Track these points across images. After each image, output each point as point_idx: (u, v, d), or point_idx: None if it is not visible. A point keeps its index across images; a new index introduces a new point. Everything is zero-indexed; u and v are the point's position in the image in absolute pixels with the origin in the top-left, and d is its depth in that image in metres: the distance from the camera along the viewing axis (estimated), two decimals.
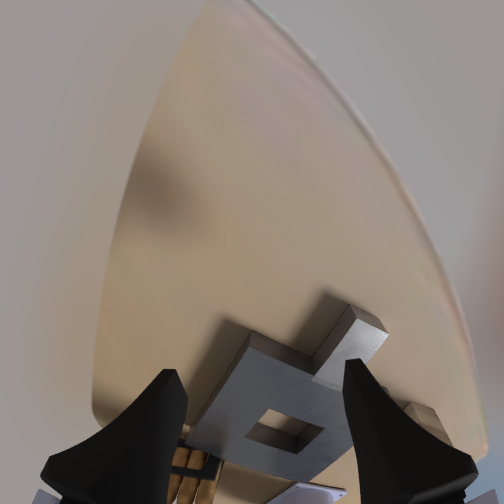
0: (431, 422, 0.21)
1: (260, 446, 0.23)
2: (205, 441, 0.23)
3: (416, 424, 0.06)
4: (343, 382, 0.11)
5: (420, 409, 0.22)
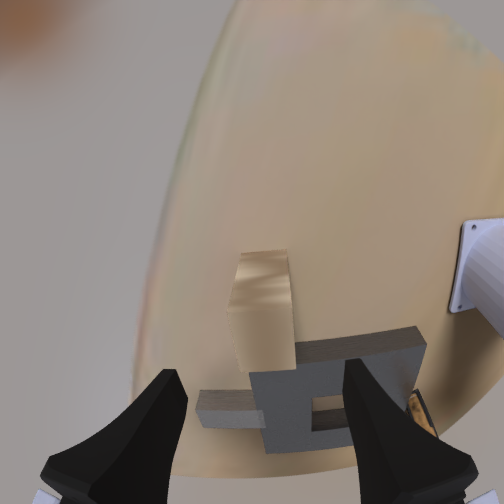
0: None
1: None
2: None
3: (416, 424, 0.06)
4: (343, 382, 0.11)
5: None
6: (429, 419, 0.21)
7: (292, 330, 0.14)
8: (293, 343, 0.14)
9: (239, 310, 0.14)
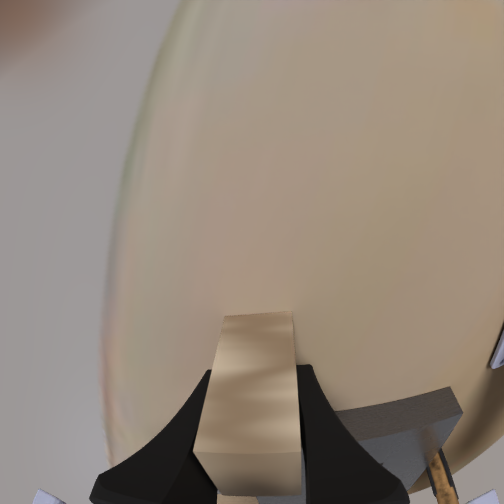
0: None
1: None
2: None
3: (351, 438, 0.07)
4: None
5: None
6: (450, 478, 0.14)
7: (299, 469, 0.07)
8: (299, 478, 0.07)
9: (212, 449, 0.07)
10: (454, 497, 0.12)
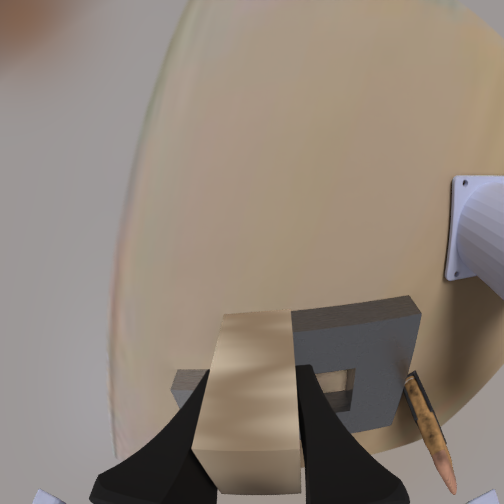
0: None
1: (357, 396, 0.21)
2: (377, 420, 0.23)
3: (351, 438, 0.07)
4: None
5: None
6: (429, 403, 0.19)
7: (298, 467, 0.07)
8: (299, 477, 0.07)
9: (211, 447, 0.07)
10: (435, 422, 0.18)
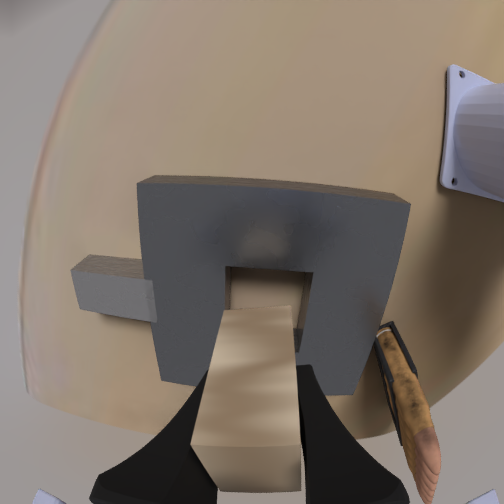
0: None
1: (312, 329, 0.17)
2: (335, 381, 0.18)
3: (351, 438, 0.07)
4: None
5: None
6: (411, 361, 0.15)
7: (298, 464, 0.07)
8: (299, 474, 0.07)
9: (210, 443, 0.07)
10: (420, 388, 0.14)
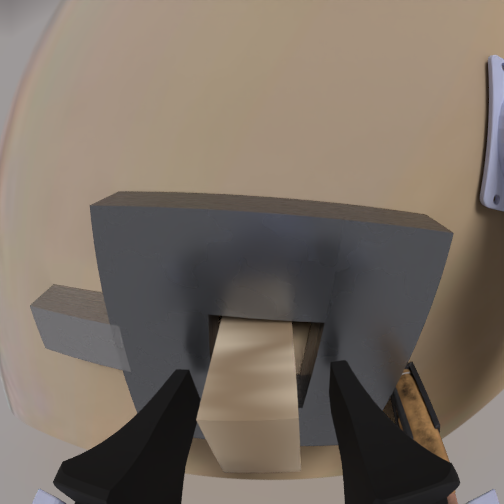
0: None
1: (319, 384, 0.13)
2: None
3: (398, 429, 0.07)
4: (329, 384, 0.11)
5: None
6: (433, 414, 0.11)
7: (297, 439, 0.08)
8: (298, 451, 0.08)
9: (214, 418, 0.08)
10: (442, 446, 0.10)
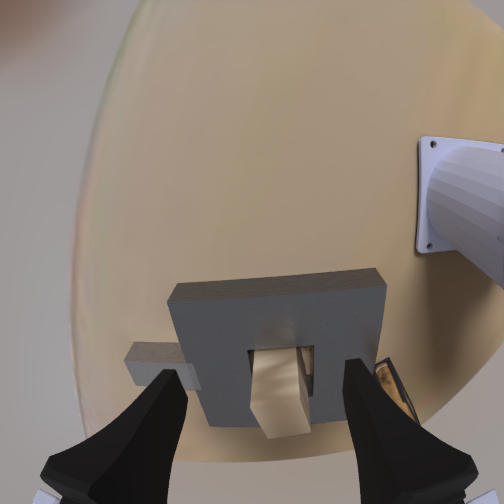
0: None
1: (320, 380, 0.20)
2: None
3: (416, 424, 0.06)
4: (343, 382, 0.11)
5: None
6: (402, 393, 0.19)
7: (303, 411, 0.16)
8: (305, 418, 0.16)
9: (259, 405, 0.16)
10: (408, 414, 0.17)
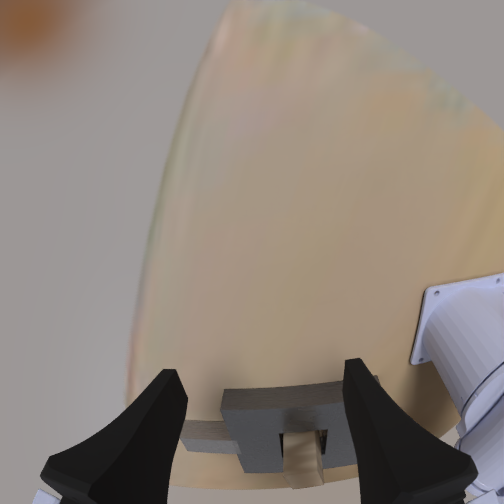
0: None
1: (330, 446, 0.25)
2: (349, 460, 0.26)
3: (416, 424, 0.06)
4: (343, 382, 0.11)
5: None
6: None
7: (319, 476, 0.20)
8: (320, 479, 0.20)
9: (289, 474, 0.20)
10: None
